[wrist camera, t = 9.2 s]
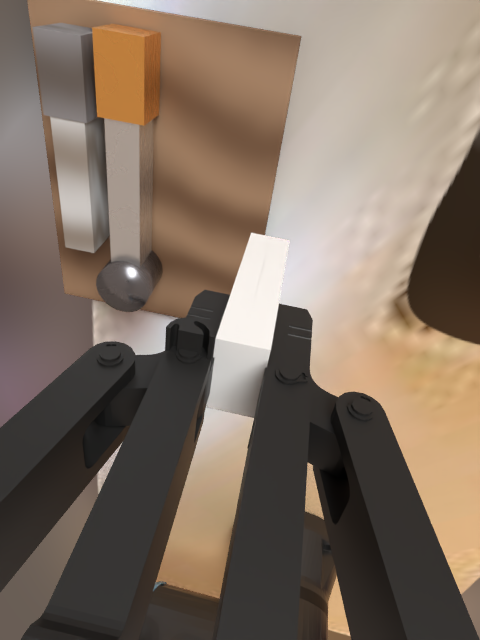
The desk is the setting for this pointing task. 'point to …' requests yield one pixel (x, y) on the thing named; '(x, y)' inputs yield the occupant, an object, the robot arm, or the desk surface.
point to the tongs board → (166, 143)
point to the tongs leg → (128, 158)
